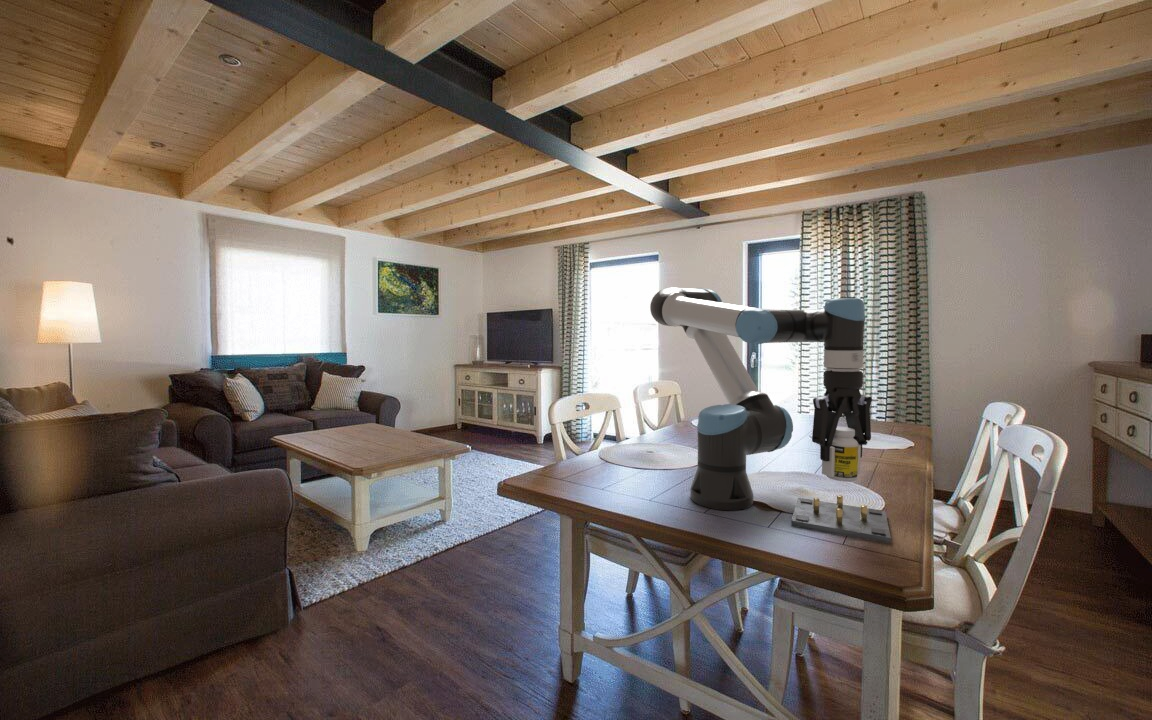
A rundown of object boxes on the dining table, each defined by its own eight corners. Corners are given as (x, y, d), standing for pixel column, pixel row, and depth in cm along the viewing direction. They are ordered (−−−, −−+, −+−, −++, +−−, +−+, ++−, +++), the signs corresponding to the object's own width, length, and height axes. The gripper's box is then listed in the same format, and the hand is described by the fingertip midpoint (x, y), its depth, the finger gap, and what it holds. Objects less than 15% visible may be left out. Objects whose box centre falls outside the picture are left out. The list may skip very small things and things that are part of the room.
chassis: (791, 525, 102) (791, 506, 102) (797, 502, 116) (798, 485, 116) (890, 543, 93) (891, 523, 93) (884, 516, 107) (885, 498, 107)
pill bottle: (827, 480, 102) (828, 430, 101) (823, 472, 108) (824, 425, 107) (860, 483, 100) (861, 432, 99) (854, 475, 106) (855, 426, 105)
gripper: (819, 372, 96) (817, 483, 98) (893, 369, 101) (890, 474, 103) (793, 369, 104) (792, 472, 105) (863, 367, 109) (861, 465, 110)
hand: (840, 473), depth 104 cm, fingers closed on pill bottle, 6 cm apart
